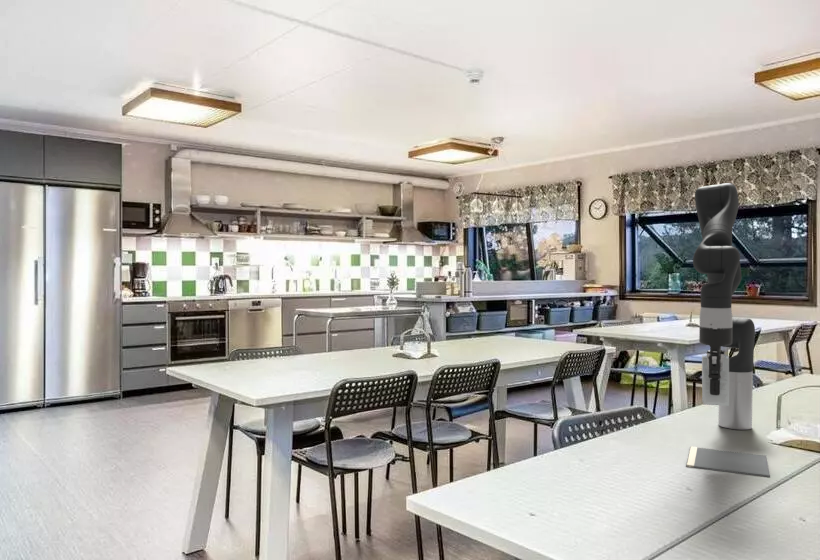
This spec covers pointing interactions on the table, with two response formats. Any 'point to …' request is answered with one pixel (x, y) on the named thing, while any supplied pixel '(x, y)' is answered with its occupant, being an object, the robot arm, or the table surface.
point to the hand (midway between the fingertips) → (715, 392)
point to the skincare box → (724, 384)
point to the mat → (728, 461)
